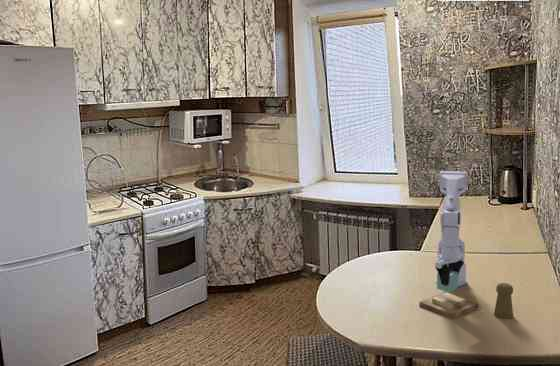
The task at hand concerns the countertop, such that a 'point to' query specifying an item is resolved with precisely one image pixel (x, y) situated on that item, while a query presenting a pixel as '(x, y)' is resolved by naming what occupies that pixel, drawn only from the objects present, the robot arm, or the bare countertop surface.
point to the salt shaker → (504, 301)
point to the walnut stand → (448, 305)
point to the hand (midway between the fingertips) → (449, 282)
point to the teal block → (449, 282)
